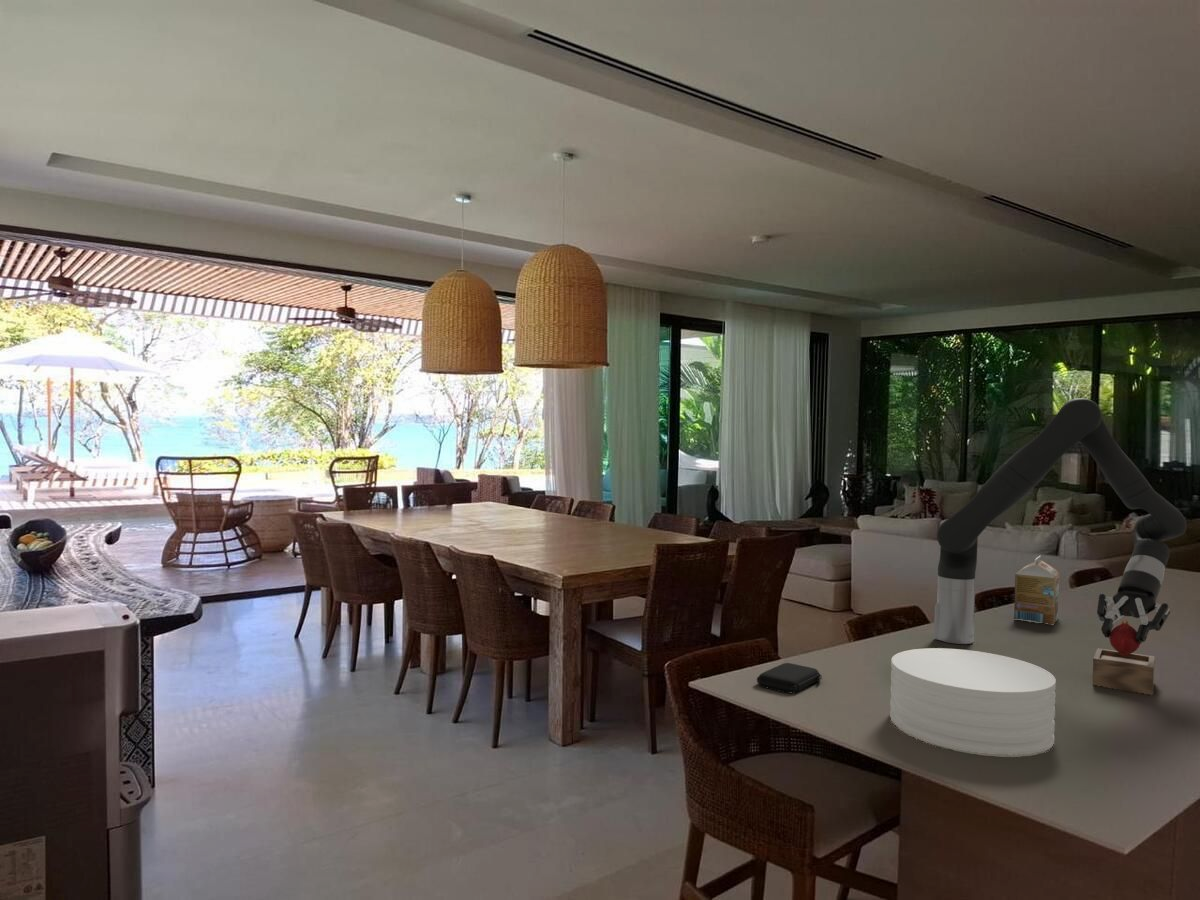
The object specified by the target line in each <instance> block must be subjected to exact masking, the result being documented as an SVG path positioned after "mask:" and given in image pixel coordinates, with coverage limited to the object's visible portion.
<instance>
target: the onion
mask: <svg viewBox="0 0 1200 900" xmlns="http://www.w3.org/2000/svg"><path fill="white" fill-rule="evenodd" d="M1137 631H1138V630H1136V629H1135V628H1134V627H1133V626H1131V625H1130V624H1129V622H1128V620H1125V619H1124V620H1122V623H1121V624H1119V625H1117V626H1114V627H1113V628H1112V631H1111V633H1110V636H1109V643H1110V646H1111V647H1112V648H1113V649H1114V651H1117V652H1119V653H1120V654H1121V655H1122V656H1127V655H1129V654H1131V653H1134V652H1136V651H1137V650H1138V649H1139V648H1140V646H1141V644H1139V643H1137V641H1136V634H1137Z"/></svg>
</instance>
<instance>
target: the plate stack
mask: <svg viewBox="0 0 1200 900" xmlns="http://www.w3.org/2000/svg"><path fill="white" fill-rule="evenodd" d="M890 663H891V664H890V668H891V671H890V681H891V683H890V695H891V696H890V702H889V703H890V709H889V710H890V711H889V716H890V717H891V720H892V721H893V722H894V723H895V725H897V726H898V727H899V728H901V729H902V730H904V731H905V732H907V733H909V734H912V735H914V736H916V737H918V738H921V739H923V740H925V741H928V742H931V743H934V744H937V745H941V746H944V747H949V748H954V749H959V750H964V751H971V752H978V753H988V754H1008V755H1013V754H1015V755H1018V754H1020V755H1022V754H1031V753H1036V752H1041V751H1044V750H1047V749H1049V748H1050V747H1052V746H1053V744H1054V745H1055V734H1054V733H1055V730H1056V729H1055V728H1056V721H1055V720H1054V719H1055V717H1056V706H1055V704H1056V697H1057V696H1056V692H1055V690H1056V689H1057V688H1056V687H1057V680H1056V677H1055V676H1054V675H1053V674H1052V673H1051V672H1049V671H1048V670H1046V669H1044V668H1043V667H1040V666H1038V665H1036V664H1033V663H1030V662H1027V661H1024V660H1021V659H1017V658H1014V657H1010V656H1006V655H1001V654H996V653H990V652H985V651H978V650H969V649H960V648H958V649H957V648H947V647H945V648H943V647H937V648H935V647H932V648H931V647H929V648H927V647H925V648H915V649H908V650H904V651H900V652H898V653H896V654H893V656H892V657H891V661H890ZM890 717H889V718H890ZM891 720H890V721H891ZM1053 747H1054V746H1053Z"/></svg>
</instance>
